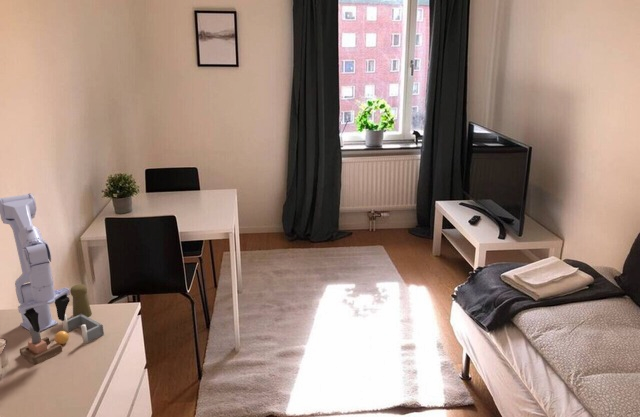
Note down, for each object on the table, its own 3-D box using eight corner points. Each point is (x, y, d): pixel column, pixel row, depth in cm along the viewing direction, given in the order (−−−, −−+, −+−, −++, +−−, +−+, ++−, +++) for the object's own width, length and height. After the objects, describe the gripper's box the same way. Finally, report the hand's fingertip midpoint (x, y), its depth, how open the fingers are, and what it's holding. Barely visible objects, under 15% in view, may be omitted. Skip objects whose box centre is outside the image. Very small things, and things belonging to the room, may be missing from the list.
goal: (63, 331, 177) (60, 315, 175) (82, 322, 182) (79, 306, 180) (85, 344, 170) (82, 327, 168) (104, 334, 175) (102, 318, 173)
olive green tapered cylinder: (85, 320, 184) (80, 291, 180) (69, 318, 185) (64, 289, 181) (95, 311, 189) (91, 282, 186) (79, 309, 190) (75, 281, 187)
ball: (53, 343, 170) (51, 332, 169) (65, 338, 173) (63, 327, 172) (60, 348, 168) (58, 336, 166) (72, 342, 171) (70, 331, 170)
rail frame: (20, 355, 164) (19, 349, 164) (47, 342, 171) (46, 336, 170) (34, 364, 160) (33, 358, 159) (62, 351, 166) (61, 345, 166)
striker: (29, 352, 165) (24, 326, 162) (39, 348, 167) (34, 322, 164) (38, 358, 162) (33, 331, 159) (48, 353, 164) (43, 327, 161)
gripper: (24, 297, 150) (32, 340, 154) (73, 278, 161) (79, 318, 165) (11, 290, 153) (19, 332, 158) (59, 272, 165) (66, 312, 169)
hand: (49, 325), depth 162 cm, fingers open, 7 cm apart
